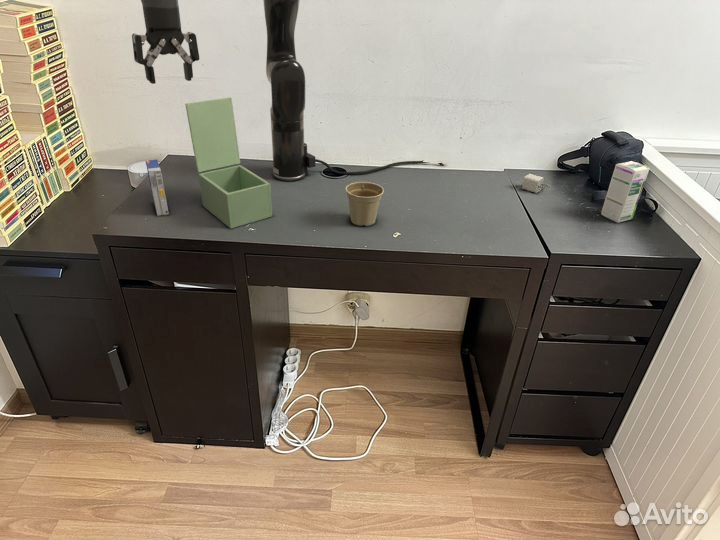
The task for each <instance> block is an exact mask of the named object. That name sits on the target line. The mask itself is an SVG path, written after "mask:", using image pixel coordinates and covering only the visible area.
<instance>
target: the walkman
mask: <svg viewBox="0 0 720 540" xmlns="http://www.w3.org/2000/svg"><path fill="white" fill-rule="evenodd" d="M145 166H146V171H147V175H148V181H149V186H150V190H151V197H152V201H153V205H154V208H155V209H154V210H155V212H156V215H157V216H168V215H170V212H169V208H168V207H169V206H168V201H167V197H166V192H165V186H164V180H163V175H162V170H161V166H160V165H159V160H158V159H149V160H147V159H146V160H145Z"/></svg>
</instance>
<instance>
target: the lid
mask: <svg viewBox="0 0 720 540" xmlns="http://www.w3.org/2000/svg"><path fill="white" fill-rule="evenodd" d="M232 98H233V97H223V98H215V99H208V100H200V101H192V102H187V103H186V102H185V103H184V105H185V110H186V116H187V121H188V128H189V133H190V138H191V145H192V149H193V156H194V161H195V166H196V171H197V173H203V172H208V171H213V170H217V169H222V168H227V167H231V166H236V165H240V164H241V157H240V151H239V143H238V136H237V127H236V120H235V114H234V105H233V99H232Z"/></svg>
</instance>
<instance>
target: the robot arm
mask: <svg viewBox="0 0 720 540" xmlns="http://www.w3.org/2000/svg"><path fill="white" fill-rule="evenodd" d="M140 2H141V6H142V12H143V20H144V24H145V34H137V33H135V32H134V33H132V34H131V41H132V50H133V60H134V62H135V63H137V64H139V65H143V66H144V73H145V79H146V80H147V81H148V82H149V83H150V84H152V85H154V84H156V76H155V75H156V74H155V70H154V66H153V65H154V63H155V61H156V60H157V58H158V57H159V55H161V56H166V55H169V54H170V55H176V54H177V55H178V57H180V58H181V59H182V61H183V63H182V65H183V74H184V79H185V81H187V82H190V81H192V79H193V78H194V72H193V63H195V62H196V61H197V62H198V61H199V60H200V53H199V45H198V39H197V35H196V33H195V32H194V33H193V32H192V31H188V32H186V33H183V31H182V22H181V14H180V5H179V0H140ZM299 8H300V0H263V13H264V20H265V29H266V61H265V75H266V78H267V81H268V82H269V84H270V90H271V106H270V107H269V108H270V109H269V114H270V116H269V117H270V133H271V149H272V172H273V173H272V175H273V177H274V178H275V179H277V180H279V181H284V182H293V181H298V180H301V179H304V178H305V176H308V175H309V171H308V169H312V168H315V167H316V163H319V164H322V165H323V166H325V167H326V168H327V169H328V170H329V171H330V172H332V173H335V174H337V175H345V176H349V175H350V176H352V175H365V174H369V173H373V172H378V171H381V170H385V169H388V168H391V167H394V166H399V165H408V164H412V165H413V164H428V163H429V162H423V161H424V160H405V161H397V162H392V163H389V164H386V165H383V166H380V167H375V168H371V169H367V170H360V171H339V170H336V169H333V168H332V167H331V166H330V165H329V164H328V163H327V162H325V161H323V160H321V159H316V155H313V154H311V153H309V152H308V144H307V143H306V142H305V122H304V121H305V119H304V118H305V117H304V116H305V115H304V113H305V109H306V75H305V70H304V68H303V66H302V65H301V63H300V62H299V61H298V60H297V53H296V45H295V33H296V32H295V31H296V25H297V20H298V14H299V10H300V9H299ZM184 40H185V42H186V43H187V44H188V45H187V46H188V51H189V54H188V53H187V51H186V50H185V49H184V48H183V46H182V44H183V42H184ZM145 42H147V44H149V47H148V49H147V51H146V54H145V57H144V51H143V50H144V49H143V46H144V45H145ZM437 164H438V165H440V167H445V164H444V163H443V162H441V163H437Z"/></svg>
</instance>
